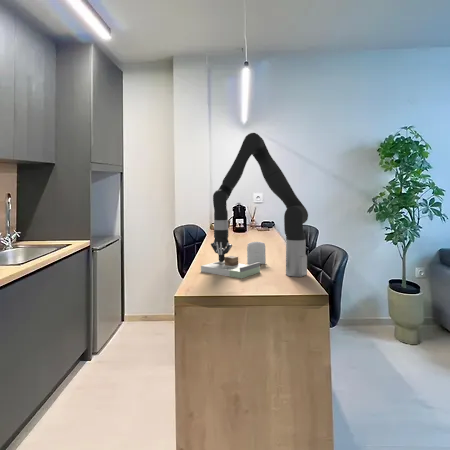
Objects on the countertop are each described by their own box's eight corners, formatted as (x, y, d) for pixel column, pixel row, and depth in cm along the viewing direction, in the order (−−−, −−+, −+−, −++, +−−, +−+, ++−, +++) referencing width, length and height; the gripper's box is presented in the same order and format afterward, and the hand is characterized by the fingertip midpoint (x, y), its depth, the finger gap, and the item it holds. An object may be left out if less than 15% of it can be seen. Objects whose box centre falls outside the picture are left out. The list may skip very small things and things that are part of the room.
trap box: (259, 272, 188) (259, 262, 188) (241, 278, 176) (241, 267, 175) (220, 266, 203) (220, 257, 203) (201, 271, 191) (200, 261, 190)
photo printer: (247, 264, 207) (247, 242, 206) (246, 263, 211) (246, 241, 210) (266, 264, 208) (266, 242, 207) (264, 262, 212) (264, 241, 211)
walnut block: (238, 264, 193) (238, 256, 193) (232, 266, 189) (232, 258, 189) (230, 263, 196) (230, 255, 196) (224, 265, 192) (224, 257, 192)
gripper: (235, 228, 194) (236, 261, 195) (215, 227, 202) (216, 259, 203) (226, 229, 188) (227, 264, 189) (206, 228, 196) (207, 261, 197)
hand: (221, 261), depth 196 cm, fingers closed
